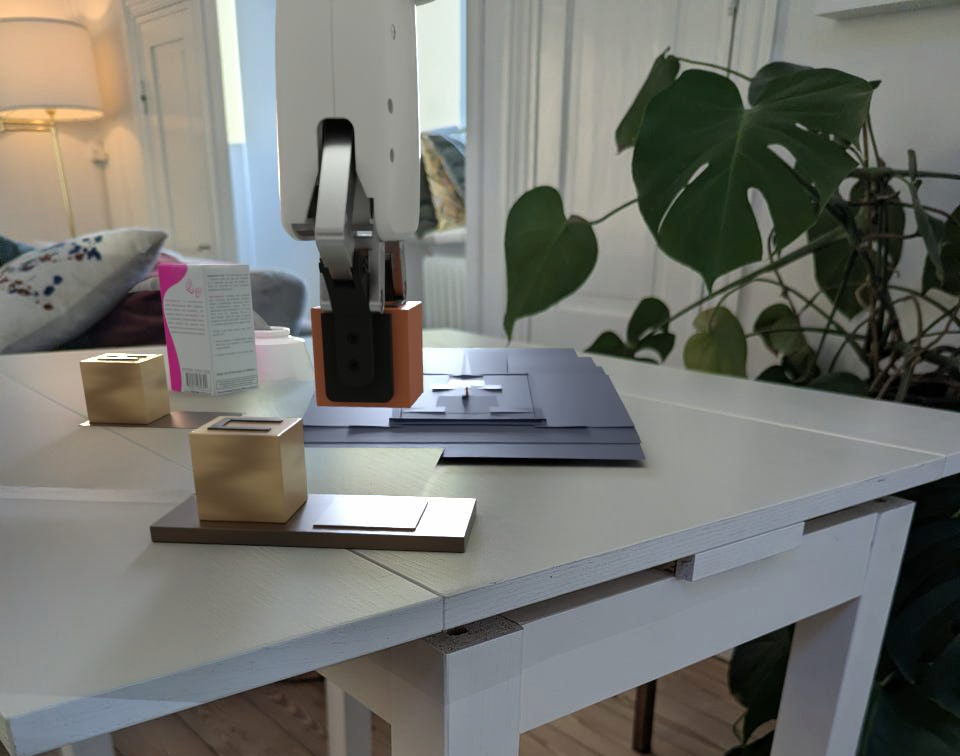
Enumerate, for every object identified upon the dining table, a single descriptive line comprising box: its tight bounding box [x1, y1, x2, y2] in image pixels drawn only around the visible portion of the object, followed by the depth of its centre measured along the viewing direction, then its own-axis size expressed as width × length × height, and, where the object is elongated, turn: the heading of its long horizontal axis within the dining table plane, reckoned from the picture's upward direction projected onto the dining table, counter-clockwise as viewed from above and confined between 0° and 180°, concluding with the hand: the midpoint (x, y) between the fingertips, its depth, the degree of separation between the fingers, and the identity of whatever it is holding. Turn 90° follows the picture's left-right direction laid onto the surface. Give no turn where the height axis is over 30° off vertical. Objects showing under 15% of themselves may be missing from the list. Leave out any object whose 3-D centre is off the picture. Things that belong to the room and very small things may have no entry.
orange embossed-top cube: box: [310, 301, 424, 408], centre depth 46 cm, size 5×5×5 cm
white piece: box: [128, 275, 315, 382], centre depth 92 cm, size 9×18×10 cm, turn 90°
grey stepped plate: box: [302, 347, 647, 461], centre depth 76 cm, size 24×30×4 cm
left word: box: [78, 353, 246, 430], centre depth 72 cm, size 11×6×5 cm, turn 85°
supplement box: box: [157, 262, 260, 397], centre depth 84 cm, size 6×6×12 cm
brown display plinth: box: [149, 416, 478, 553], centre depth 49 cm, size 16×7×5 cm, turn 85°
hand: (370, 388), depth 47 cm, fingers closed on orange embossed-top cube, 4 cm apart
